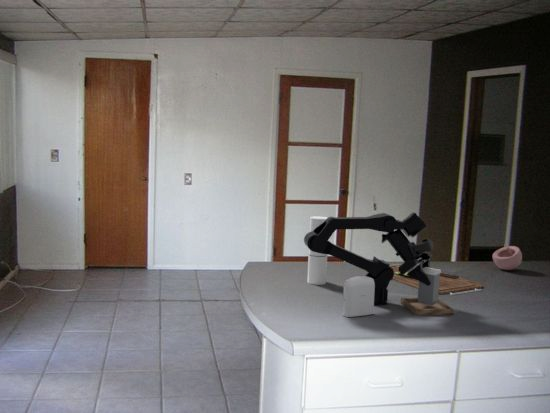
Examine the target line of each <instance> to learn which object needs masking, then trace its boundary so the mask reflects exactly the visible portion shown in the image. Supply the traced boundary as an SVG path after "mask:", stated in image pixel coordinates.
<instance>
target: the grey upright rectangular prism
mask: <svg viewBox="0 0 550 413" xmlns="http://www.w3.org/2000/svg"><path fill="white" fill-rule="evenodd" d="M422 270H423V271H424V273H425V275H426V276H427V278H428V279H429V281H430V283H431V284H430V285H429V286H428V285H426V284H424V283H422V282H420V281H419V289H417V290H418V292H417V298H418V301H417V302H419V303H423V304H428V305H434V304H436V303H437V302H438V299H439V294H438V293H439V282H440V273H441V272H442V269H439V268H432V267H430V268H428V267H425V268H422Z"/></svg>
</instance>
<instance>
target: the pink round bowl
mask: <svg viewBox="0 0 550 413" xmlns="http://www.w3.org/2000/svg"><path fill="white" fill-rule="evenodd" d="M503 246H504V247H501V248H499V249H496V250H495V251H494V252H493V253H492V261H493V263H494V264H495V265H496V267H498V268H499V269H501V270H504V271H512V270H515V269H516V268H518V267H519V266H520V264H521V263H522V260H523V253H522V251H521V249H520V248H519V247H518V246H515V245H509V246H508V245H507V244H503Z"/></svg>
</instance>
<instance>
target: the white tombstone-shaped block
mask: <svg viewBox="0 0 550 413" xmlns="http://www.w3.org/2000/svg"><path fill="white" fill-rule="evenodd" d="M374 291H375V283H374V280H373V279H372V278H370V277H366V276H365V275H360V276H359V275H357V276H353V277H350V278H348V279H345V281H344V283H343V292H342V294H343V296H342V297H343V298H342V299H343V300H342V315H343V317H345V318H352V317H360V316H361V317H363V316H369V315H373V314H374V310H375V309H374V307H375V305H374Z"/></svg>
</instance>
